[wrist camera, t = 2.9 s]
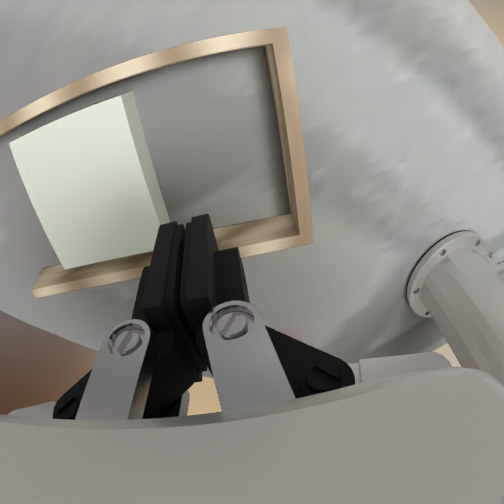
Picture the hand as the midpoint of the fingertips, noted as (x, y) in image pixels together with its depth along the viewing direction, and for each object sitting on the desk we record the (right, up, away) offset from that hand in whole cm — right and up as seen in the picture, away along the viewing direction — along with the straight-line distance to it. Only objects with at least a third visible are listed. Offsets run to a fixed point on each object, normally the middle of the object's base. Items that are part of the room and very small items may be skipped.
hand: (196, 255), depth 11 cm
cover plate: (-11, +6, +13) cm, 18 cm away
